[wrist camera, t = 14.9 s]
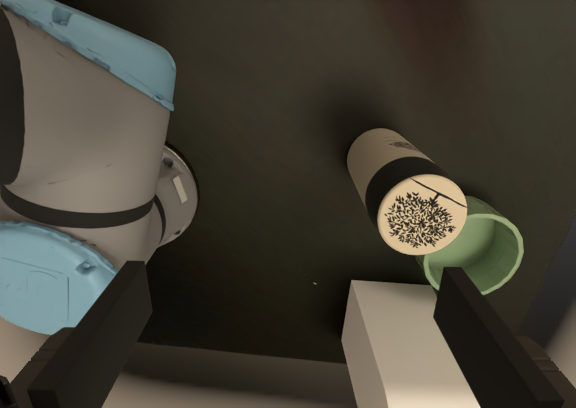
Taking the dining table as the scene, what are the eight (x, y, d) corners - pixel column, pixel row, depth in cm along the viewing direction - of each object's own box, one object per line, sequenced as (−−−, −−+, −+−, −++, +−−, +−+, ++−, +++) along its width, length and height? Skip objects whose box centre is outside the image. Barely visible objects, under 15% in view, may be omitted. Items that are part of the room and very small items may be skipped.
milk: (431, 285, 55) (537, 467, 31) (415, 344, 60) (497, 543, 36) (351, 280, 55) (396, 459, 31) (341, 339, 59) (374, 536, 35)
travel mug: (380, 198, 50) (424, 273, 33) (334, 165, 48) (355, 227, 31) (421, 151, 47) (491, 207, 31) (373, 115, 45) (420, 153, 29)
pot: (404, 271, 54) (417, 296, 49) (417, 194, 49) (432, 212, 44) (487, 273, 54) (509, 298, 49) (508, 196, 49) (535, 214, 44)
